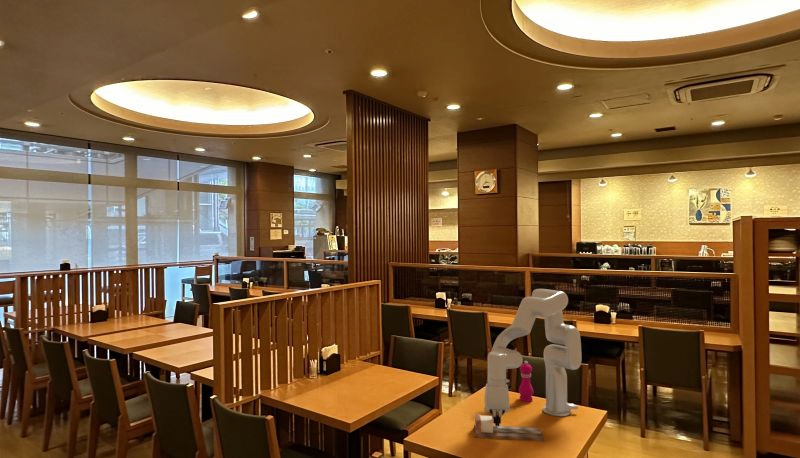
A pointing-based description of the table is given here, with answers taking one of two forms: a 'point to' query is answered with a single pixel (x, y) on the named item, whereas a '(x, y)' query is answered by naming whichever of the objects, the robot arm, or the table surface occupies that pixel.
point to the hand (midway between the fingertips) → (497, 425)
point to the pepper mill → (526, 383)
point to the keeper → (486, 424)
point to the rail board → (508, 432)
